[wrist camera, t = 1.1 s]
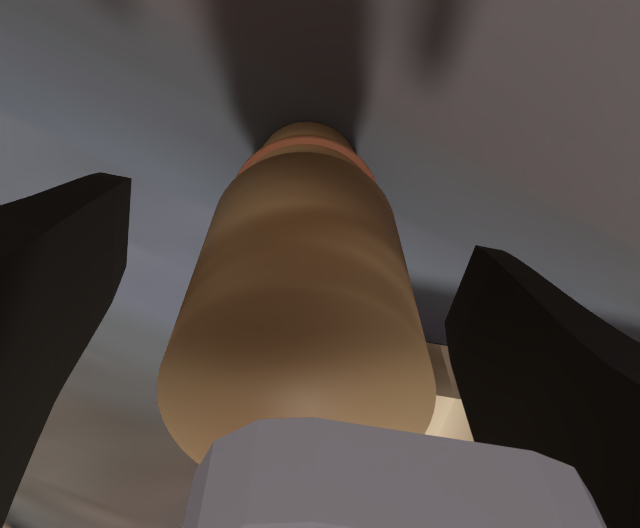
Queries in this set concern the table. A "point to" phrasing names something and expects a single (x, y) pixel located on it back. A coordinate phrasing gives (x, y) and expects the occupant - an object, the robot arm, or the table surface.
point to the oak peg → (297, 303)
